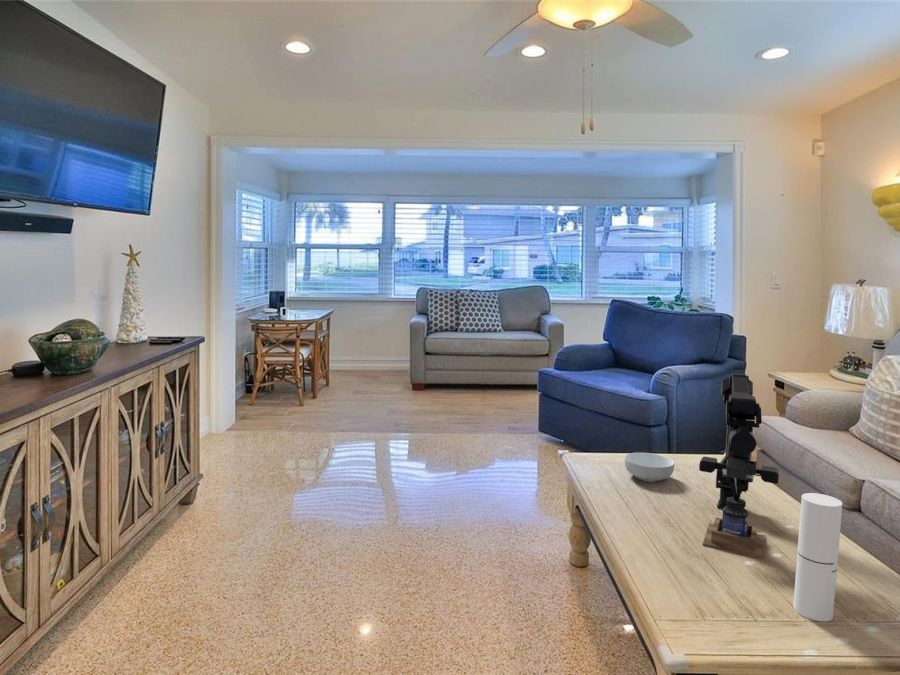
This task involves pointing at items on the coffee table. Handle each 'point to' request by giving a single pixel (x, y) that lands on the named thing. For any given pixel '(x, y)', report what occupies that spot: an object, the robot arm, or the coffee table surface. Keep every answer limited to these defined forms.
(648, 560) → the coffee table surface
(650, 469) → the cereal bowl
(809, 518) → the cylindrical container
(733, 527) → the pill bottle
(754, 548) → the walnut holder
